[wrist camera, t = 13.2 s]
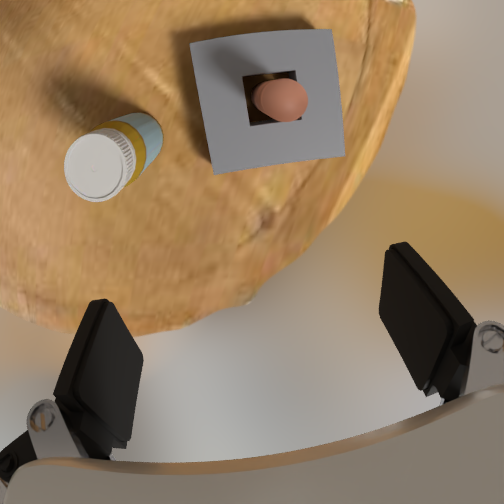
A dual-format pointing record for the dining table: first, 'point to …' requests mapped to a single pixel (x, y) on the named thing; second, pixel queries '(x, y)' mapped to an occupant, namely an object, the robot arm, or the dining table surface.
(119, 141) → the bottle
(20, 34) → the dining table surface
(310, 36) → the socket block
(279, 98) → the peg
